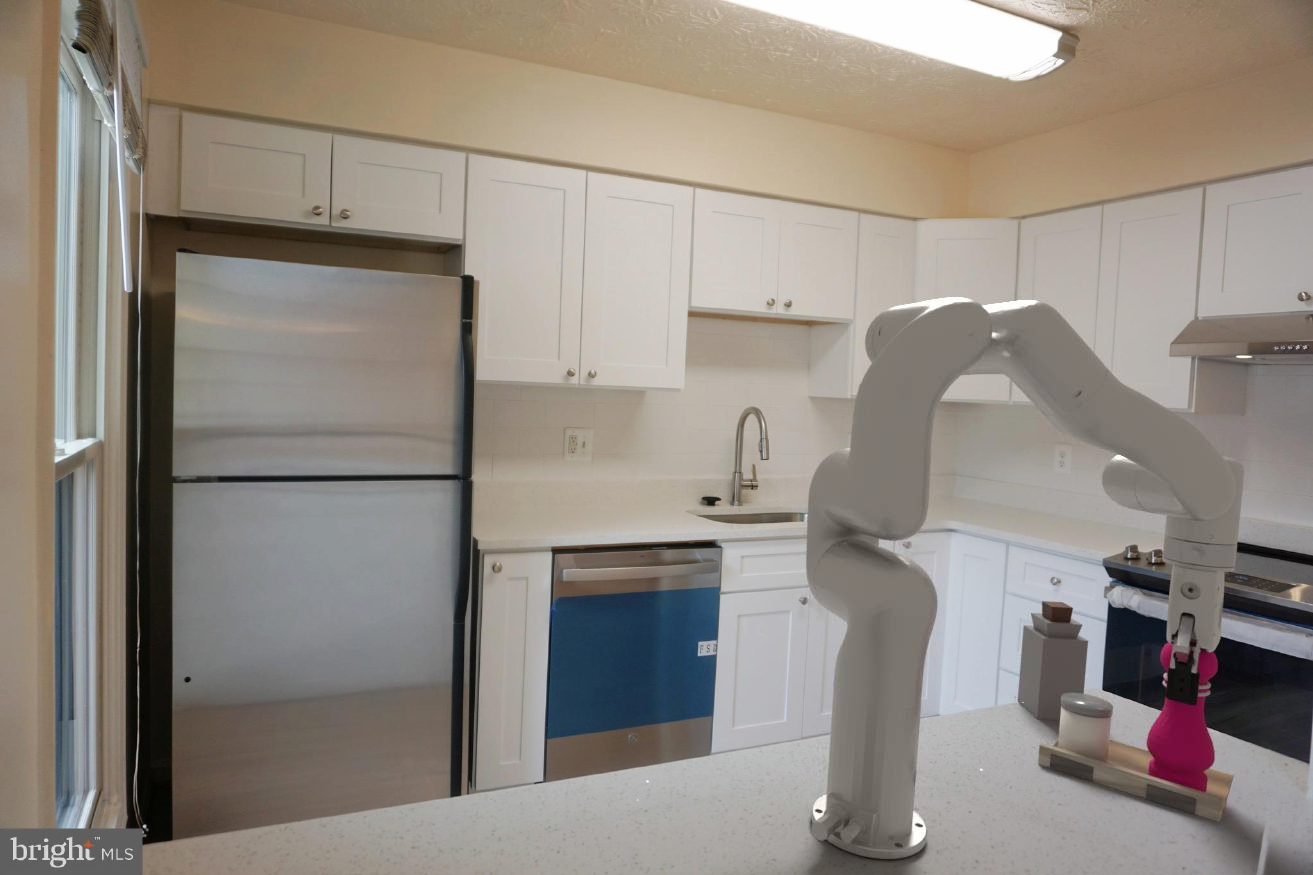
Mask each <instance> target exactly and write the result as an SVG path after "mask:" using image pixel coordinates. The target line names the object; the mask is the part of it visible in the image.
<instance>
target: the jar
mask: <svg viewBox="0 0 1313 875" xmlns="http://www.w3.org/2000/svg"><path fill="white" fill-rule="evenodd" d="M1113 713H1114V706H1113V704H1112V703H1111V702H1109V701H1108V700H1107V699H1104V698H1101V697H1098V696H1095V695H1092V694H1087V693H1084V694H1082V693H1065V694H1063V695H1062V696H1061V715H1060V720H1059V727H1058V739H1057V741H1058V748H1061V749H1064V750H1067V751H1070V752H1074V753H1077V754H1080V755H1084V756H1087V757H1090V758H1093V759H1097V760H1100V761H1103V762H1107V761H1108V750H1109V740H1110V736H1111V726H1112V725H1111V724H1112V716H1113Z"/></svg>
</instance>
